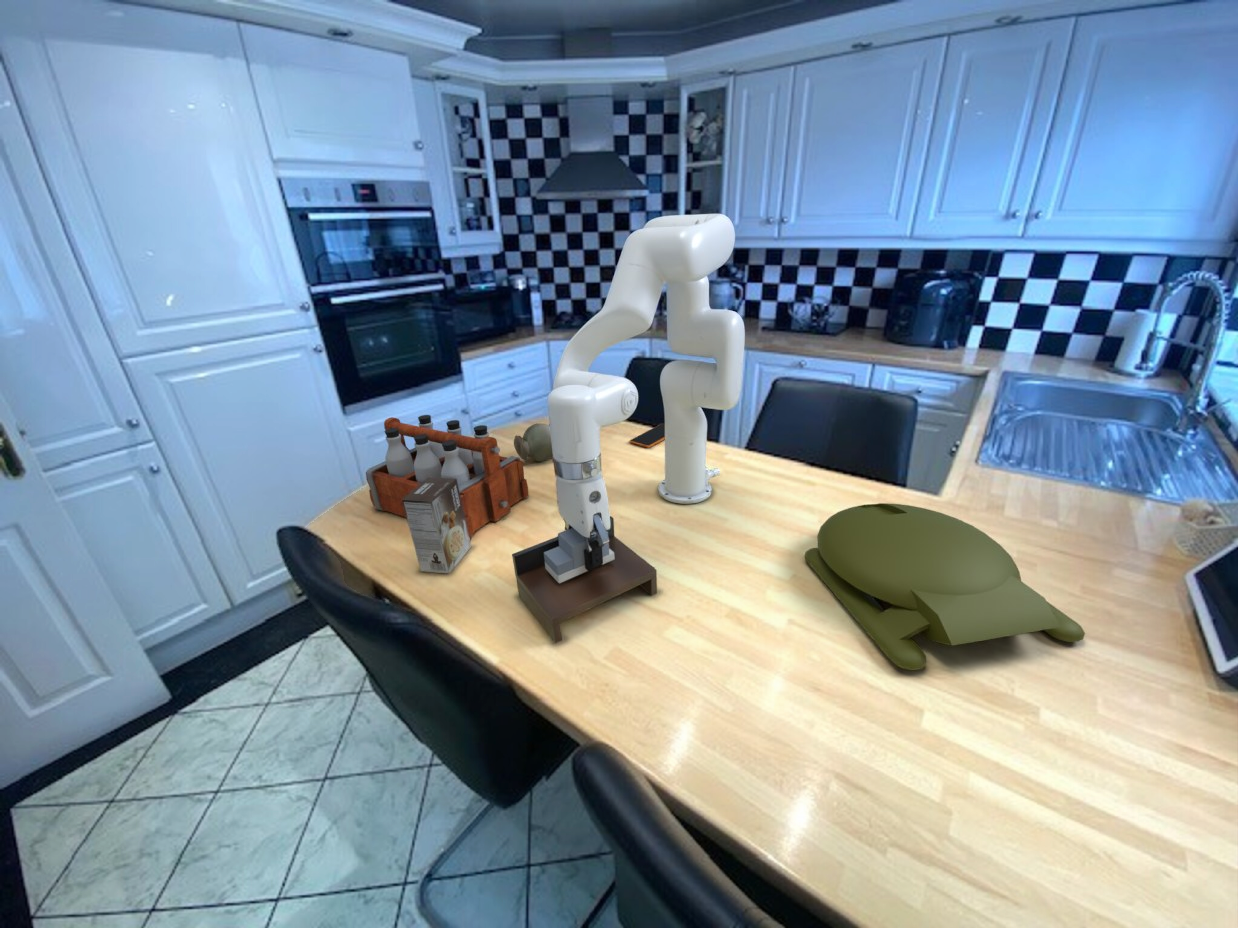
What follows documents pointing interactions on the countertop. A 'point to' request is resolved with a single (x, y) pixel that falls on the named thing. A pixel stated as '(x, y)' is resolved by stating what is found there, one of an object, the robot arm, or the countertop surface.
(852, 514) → the spaceship
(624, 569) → the shelf rack
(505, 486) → the milk bottle holder
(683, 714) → the countertop surface
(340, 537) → the countertop surface
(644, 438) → the smartphone
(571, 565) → the stepped grey block
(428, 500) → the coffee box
